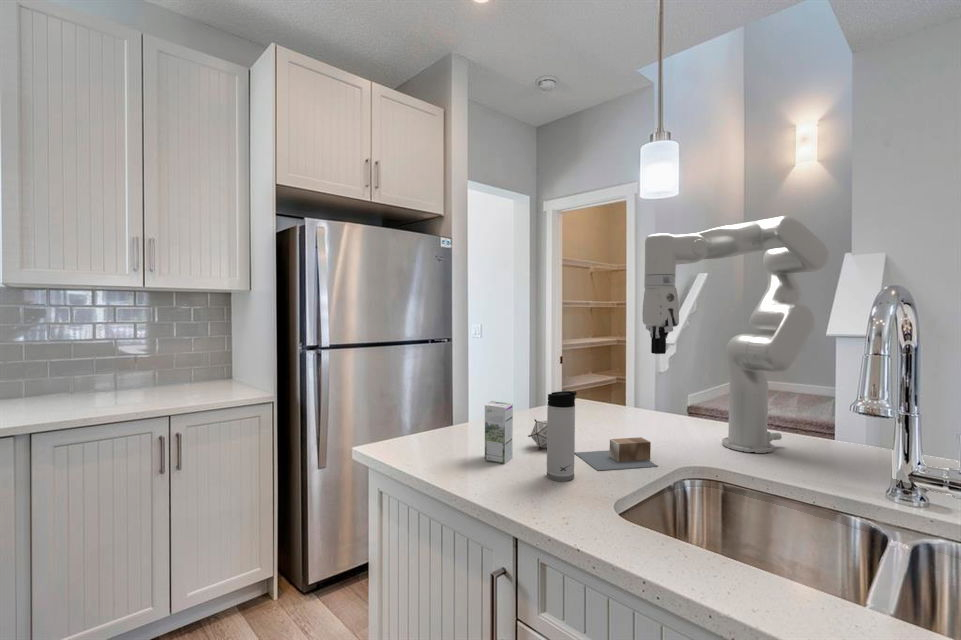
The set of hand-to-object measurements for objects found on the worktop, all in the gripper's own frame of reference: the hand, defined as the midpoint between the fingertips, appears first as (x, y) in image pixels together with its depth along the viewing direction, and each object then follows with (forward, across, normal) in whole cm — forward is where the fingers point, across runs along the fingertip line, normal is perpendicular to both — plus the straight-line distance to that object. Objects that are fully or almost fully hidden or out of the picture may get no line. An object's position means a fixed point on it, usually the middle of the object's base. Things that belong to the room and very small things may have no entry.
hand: (658, 353), depth 127 cm
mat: (+27, 0, +12) cm, 30 cm away
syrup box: (+27, +6, +41) cm, 50 cm away
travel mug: (+27, -9, +30) cm, 42 cm away
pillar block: (+25, 0, +3) cm, 25 cm away
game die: (+27, +13, +26) cm, 40 cm away
